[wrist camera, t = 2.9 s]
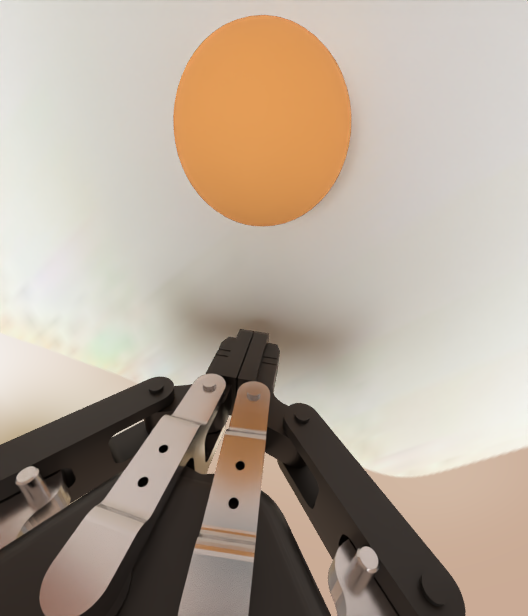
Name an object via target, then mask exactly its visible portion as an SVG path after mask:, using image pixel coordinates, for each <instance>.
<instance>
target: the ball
mask: <svg viewBox="0 0 528 616" xmlns="http://www.w3.org/2000/svg"><path fill="white" fill-rule="evenodd" d="M173 118H174V136H175V143H176V148H177V152H178V156H179V159H180V162H181V164H182V167H183V169H184V171H185V174H186V176H187V178H188V179H189V181H190V183H191V184H192V186H193V187H194V189H195V190H196V191H197V193H198V194H199V195H200V196H201V198H202V199H203V200H204V201H205V202H206V203H207V204H208V205H210V206H211V207H212V208H213V209H214V210H216V211H217V212H219V213H220V214H222V215H223V216H225V217H227V218H229V219H231V220H233V221H236V222H239V223H242V224H246V225H251V226H273V225H279V224H283V223H286V222H289V221H292V220H294V219H296V218H298V217H300V216H302V215H304V214H305V213H307V212H308V211H309V210H311V209H312V208H313V207H314V206H316V205H317V204H318V203H319V202H320V201H321V200H322V199H323V198H324V196H325V195H326V194H327V193H328V192H329V190H330V189H331V187H332V186H333V184H334V183H335V181H336V179H337V177H338V175H339V173H340V171H341V169H342V166H343V164H344V161H345V158H346V155H347V151H348V147H349V141H350V134H351V108H350V100H349V95H348V91H347V86H346V84H345V81H344V78H343V75H342V73H341V71H340V69H339V67H338V65H337V63H336V61H335V59H334V58H333V56H332V55H331V53H330V52H329V51H328V49H327V48H326V47H325V46H324V45H323V44H322V43H321V41H320V40H319V39H318V38H317V37H316V36H315V35H313V34H312V33H311V32H309V31H308V30H307V29H305V28H304V27H302V26H300V25H299V24H297V23H295V22H293V21H291V20H287V19H284V18H281V17H277V16H269V15H257V16H249V17H245V18H241V19H237V20H234V21H232V22H230V23H227V24H225V25H223V26H222V27H220V28H219V29H217V30H216V31H214V32H213V33H212V34H211V35H210V36H209V37H207V38H206V39H205V40H204V41H203V42H202V43H201V45H200V46H199V47H198V48H197V49H196V51H195V52H194V53H193V55H192V57H191V58H190V60H189V62H188V63H187V65H186V67H185V70H184V72H183V74H182V76H181V79H180V82H179V86H178V89H177V93H176V98H175V104H174V116H173Z"/></svg>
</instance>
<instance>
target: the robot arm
mask: <svg viewBox="0 0 528 616" xmlns="http://www.w3.org/2000/svg"><path fill="white" fill-rule="evenodd" d="M268 340H269V334H268V333H262V332H256V331H255V332H254V331H249V330H243V329H240V331H239V333H238V335H237V337H236V338H233V337H228V338H227V339H226V340H224V341H223V342H222V343H221V345H220V347H219V350H218V351H217V353H216V355H215V357H214V359H213V361H212V363H211V365H210V366H209V368H208V370H207V372H206V374H205V375H202V376H200V377H198V378H197V379H196V380H195V381H194V383H193V384H191V385H183V386H174V384H173V382H172V381H171V380H170V379H169V378H166V377H154V378H151V379H148V380H146V381H144V382H142V383H139V384H137V385H135V386H133V387H130V388H128V389H126V390H123V391H121V392H119V393H117V394H114V395H112V396H110V397H108V398H105V399H103V400H101V401H99V402H96V403H94V404H92V405H89V406H87V407H85V408H83V409H81V410H78V411H76V412H74V413H71V414H69V415H67V416H65V417H62V418H60V419H58V420H56V421H53V422H51V423H49V424H46V425H44V426H42V427H40V428H37V429H35V430H33V431H31V432H28V433H26V434H24V435H22V436H20V437H17V438H15V439H13V440H10V441H8V442H6V443H4V444H1V445H0V616H331V614H330V612H329V610H328V608H327V606H326V604H325V602H324V600H323V597H322V595H321V593H320V591H319V589H318V587H317V585H316V583H315V580H314V579H313V576H312V574H311V572H310V570H309V568H308V566H307V564H306V561H305V559H304V558H303V555H302V553H301V551H300V549H299V547H298V544H297V542H296V540H295V538H294V536H293V534H292V532H291V530H290V528H289V526H288V523H287V521H286V519H285V517H284V515H283V513H282V512H281V510H280V509H279V507H278V506H277V504H276V503H275V502H274V501H273V500H272V499H271V498H270V497H269V496H268V495H267V494H266V493H264V492H263V491H261V482H262V473H263V463H264V453H265V452H266V453H268V454H269V455H271V456H273V457H275V458H276V459H277V462H278V464H279V467H280V469H281V470H282V472H283V474H284V476H285V477H286V479H287V481H288V482H289V484H290V486H291V487H292V489H293V491H294V492H295V495H296V496H297V498H298V500H299V502H300V503H301V505H302V507H303V509H304V510H305V512H306V514H307V516H308V517H309V519H310V521H311V522H312V524H313V526H314V528H315V530H316V531H317V533H318V535H319V536H320V538H321V540H322V542H323V543H324V545H325V547H326V549H327V550H328V552H329V554H330V556H331V557H332V559H333V561H332V564H331V566H330V568H329V572H328V585H329V589H330V593H331V596H332V598H333V601H334V603H335V607H336V610H337V616H465V605H464V601H463V597H462V594H461V592H460V590H459V588H458V586H457V584H456V582H455V581H454V579H453V578H452V576H451V575H450V574H449V572H448V571H447V570H446V569H445V567H444V566H443V565H442V564H441V563H440V561H439V560H438V559H437V558H436V557H435V555H434V554H433V553H432V552H431V550H430V549H429V548H428V547H427V546H426V544H425V543H424V542H423V541H422V539H421V538H420V537H419V536H418V535H417V533H416V532H415V531H414V530H413V529H412V527H411V526H410V525H409V524H408V522H407V521H406V520H405V519H404V518H403V516H402V515H401V514H400V513H399V512H398V510H397V509H396V508H395V507H394V505H393V504H392V503H391V502H390V501H389V499H388V498H387V497H386V496H385V494H384V493H383V492H382V491H381V490H380V489H379V487H378V486H377V485H376V483H375V482H374V481H373V480H372V479H371V477H370V476H369V475H368V474H367V473H366V471H365V470H364V469H363V468H362V466H361V465H360V464H359V463H358V462H357V460H356V459H355V458H354V457H353V456H352V454H351V453H350V452H349V451H348V449H347V448H346V447H345V446H344V445H343V443H342V442H341V441H340V440H339V438H338V437H337V436H336V435H335V434H334V432H333V431H332V430H331V429H330V428H329V426H328V425H327V424H326V423H325V421H324V420H323V419H322V418H321V417H320V415H319V414H318V413H317V412H316V411H315V410H314V409H313V408H312V407H310V406H309V405H306V404H302V403H295V404H292V405H290V406H287V405H285V404H283V403H281V402H280V401H279V400H278V399H277V398H276V397H275V396H274V394H273V392H274V386H275V381H276V376H277V369H278V362H279V354H280V351H279V348H278V346H277V345H276V344H270V343H268ZM229 415H232V417H231V421H230V425H229V429H227V430H226V432H225V435H224V440H223V443H222V447H221V451H220V455H219V459H218V463H217V467H216V471H215V474H207V471H208V468H209V465H210V463H211V461H212V459H213V456H214V454H215V452H216V449H217V447H218V445H219V442H220V440H221V438H222V435H223V433H224V431H225V424H226V422H227V419H228V416H229ZM142 419H144V421H143V422H141V423H139V424H137V425H135V426H133V427H131V428H129V429H127V430H125V431H124V432H122V433H120V434H118V435H116V436H114V437H112V436H113V435H115V434H116V433H118V432H119V431H121V430H123V429H125V428H127V427H129V426H131V425H133V424H135V423H137V422H139V421H141V420H142ZM111 437H112V438H111ZM91 490H92V491H91ZM86 493H87V494H86ZM83 495H84V496H83ZM81 496H82V497H81ZM80 497H81V498H80ZM78 498H79V499H78ZM77 499H78V500H77ZM75 500H76V501H75ZM73 501H75V502H73ZM71 502H73V503H71ZM70 503H71V504H70ZM69 504H70V505H69Z"/></svg>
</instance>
